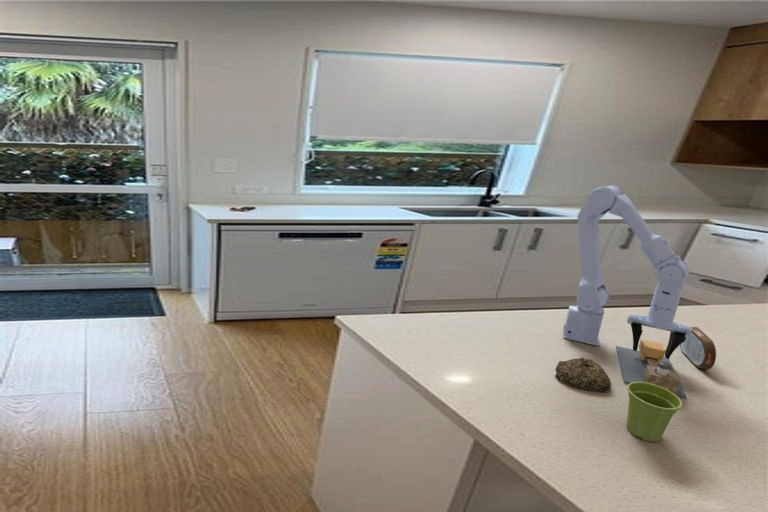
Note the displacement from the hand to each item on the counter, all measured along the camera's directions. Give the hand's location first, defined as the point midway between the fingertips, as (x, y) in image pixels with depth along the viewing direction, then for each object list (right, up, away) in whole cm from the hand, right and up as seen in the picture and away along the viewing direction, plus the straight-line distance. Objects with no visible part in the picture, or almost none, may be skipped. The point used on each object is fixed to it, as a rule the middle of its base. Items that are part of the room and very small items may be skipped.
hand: (650, 353), depth 120 cm
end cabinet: (-6, -6, -12) cm, 15 cm away
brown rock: (-23, -4, -11) cm, 26 cm away
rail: (-2, -3, -3) cm, 5 cm away
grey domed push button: (-5, -3, -13) cm, 15 cm away
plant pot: (-19, -10, -30) cm, 37 cm away
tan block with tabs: (0, -2, +1) cm, 2 cm away
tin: (+14, -3, +4) cm, 15 cm away
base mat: (-3, -3, -4) cm, 7 cm away
